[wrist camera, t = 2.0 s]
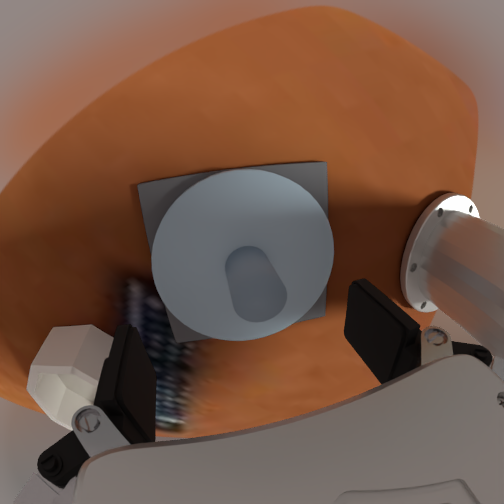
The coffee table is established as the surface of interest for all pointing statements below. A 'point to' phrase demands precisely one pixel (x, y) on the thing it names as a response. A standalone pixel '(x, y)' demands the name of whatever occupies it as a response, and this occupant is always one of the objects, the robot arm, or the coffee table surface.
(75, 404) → the dish
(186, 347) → the coffee table surface
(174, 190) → the mat
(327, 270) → the lid
